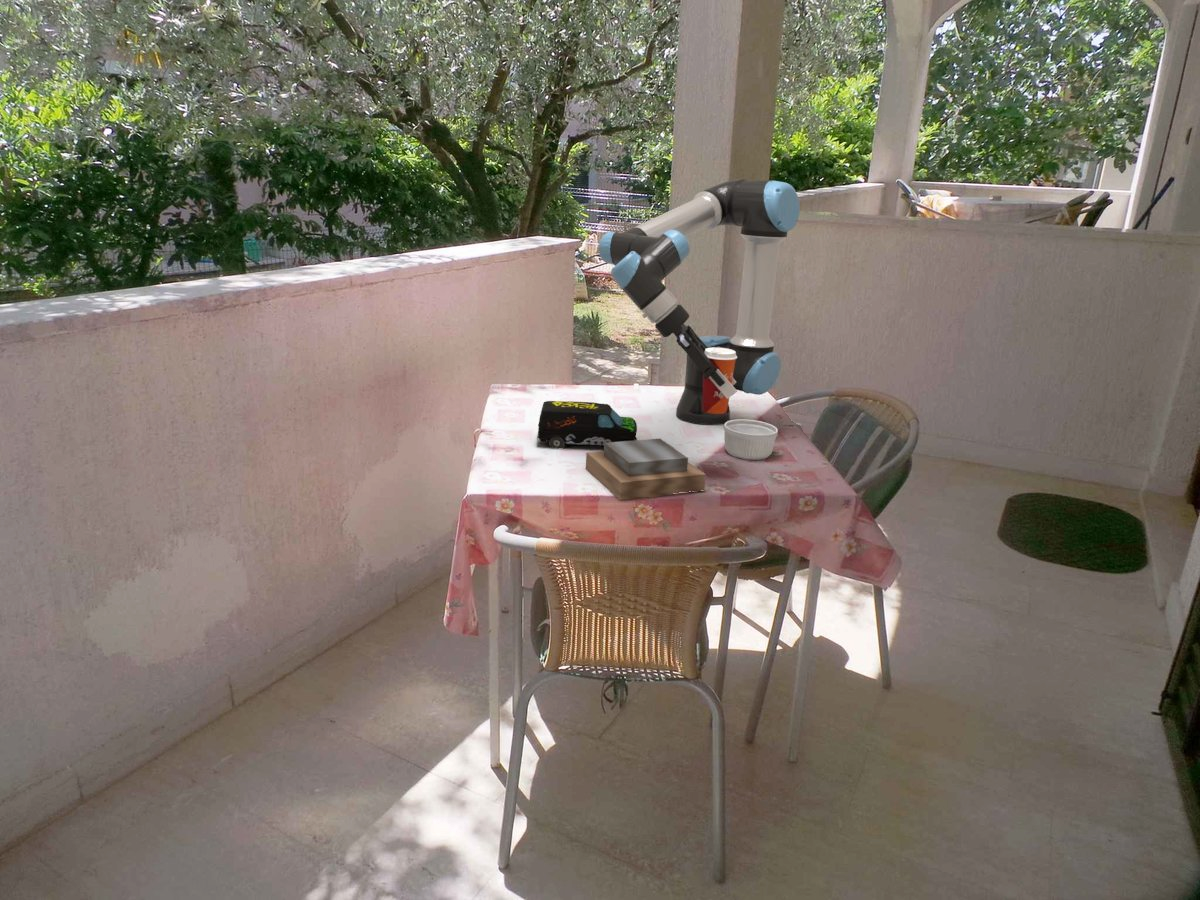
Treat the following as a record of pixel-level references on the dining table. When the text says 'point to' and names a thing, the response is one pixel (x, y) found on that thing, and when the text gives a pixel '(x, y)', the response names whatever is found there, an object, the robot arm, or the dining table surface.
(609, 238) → the robot arm
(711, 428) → the dining table surface
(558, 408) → the toy van
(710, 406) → the paper cup
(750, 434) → the ramekin
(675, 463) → the two-tone square platform
